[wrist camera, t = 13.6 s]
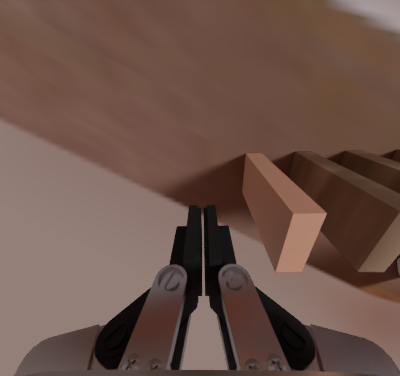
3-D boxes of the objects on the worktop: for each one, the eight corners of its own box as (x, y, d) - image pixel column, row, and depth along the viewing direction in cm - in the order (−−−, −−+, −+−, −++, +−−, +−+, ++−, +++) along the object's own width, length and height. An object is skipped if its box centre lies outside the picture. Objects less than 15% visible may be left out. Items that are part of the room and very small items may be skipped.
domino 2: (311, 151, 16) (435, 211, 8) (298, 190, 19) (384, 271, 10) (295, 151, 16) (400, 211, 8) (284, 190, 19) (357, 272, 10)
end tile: (241, 191, 19) (275, 272, 10) (245, 153, 17) (293, 213, 8) (255, 191, 19) (301, 272, 10) (261, 153, 16) (327, 213, 8)
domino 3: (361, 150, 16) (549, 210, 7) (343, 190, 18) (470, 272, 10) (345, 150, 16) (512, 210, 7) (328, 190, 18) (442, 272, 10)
